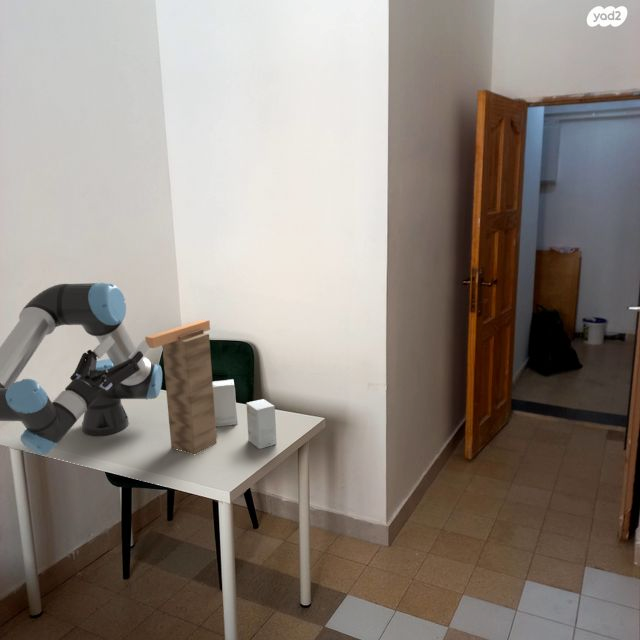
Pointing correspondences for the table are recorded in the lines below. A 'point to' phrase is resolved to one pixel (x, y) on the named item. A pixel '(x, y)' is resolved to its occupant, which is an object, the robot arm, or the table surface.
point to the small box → (261, 423)
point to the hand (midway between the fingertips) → (129, 341)
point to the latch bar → (176, 333)
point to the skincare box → (224, 403)
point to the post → (190, 392)
